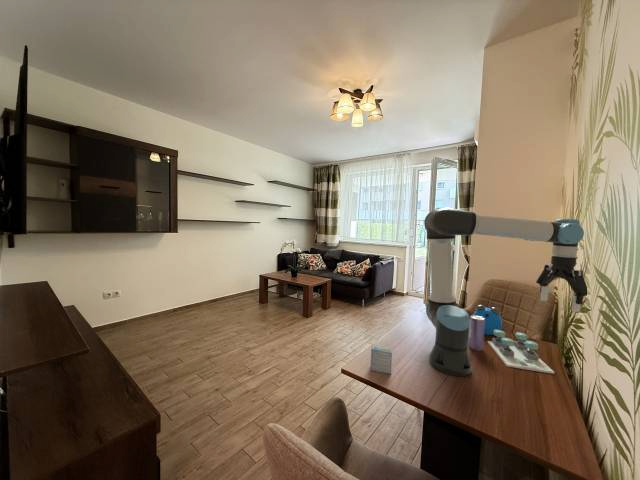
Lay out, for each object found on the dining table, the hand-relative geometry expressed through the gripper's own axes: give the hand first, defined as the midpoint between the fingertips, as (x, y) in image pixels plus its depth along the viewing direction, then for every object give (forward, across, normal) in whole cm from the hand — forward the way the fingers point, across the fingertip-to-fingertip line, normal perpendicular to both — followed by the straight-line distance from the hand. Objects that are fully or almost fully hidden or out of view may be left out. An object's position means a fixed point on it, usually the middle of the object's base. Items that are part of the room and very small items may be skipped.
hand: (558, 305), depth 107 cm
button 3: (+21, +13, +14) cm, 29 cm away
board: (+25, +4, +12) cm, 28 cm away
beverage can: (+25, +11, +27) cm, 38 cm away
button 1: (+21, +5, +17) cm, 28 cm away
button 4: (+21, +10, +6) cm, 24 cm away
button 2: (+21, +2, +8) cm, 23 cm away
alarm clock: (+25, +28, +10) cm, 39 cm away
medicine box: (+25, -6, +77) cm, 81 cm away
